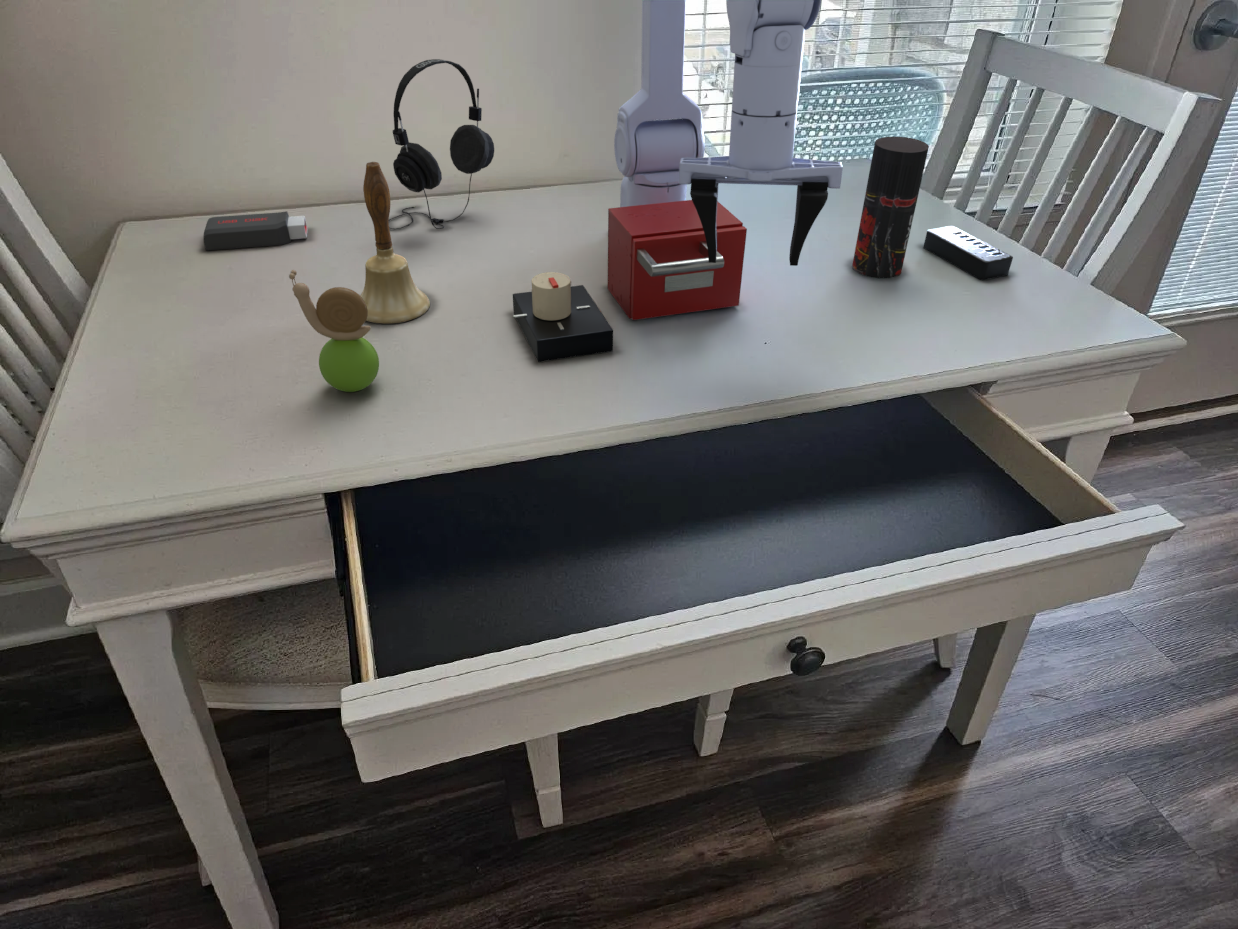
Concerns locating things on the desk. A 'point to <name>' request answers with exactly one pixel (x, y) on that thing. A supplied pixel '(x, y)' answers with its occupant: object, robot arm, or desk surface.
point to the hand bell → (387, 262)
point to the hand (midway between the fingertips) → (752, 260)
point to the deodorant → (889, 206)
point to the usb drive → (253, 230)
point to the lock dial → (551, 296)
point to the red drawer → (686, 273)
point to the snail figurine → (341, 336)
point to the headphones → (466, 145)
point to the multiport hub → (968, 252)
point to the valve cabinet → (648, 224)
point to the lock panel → (564, 328)
